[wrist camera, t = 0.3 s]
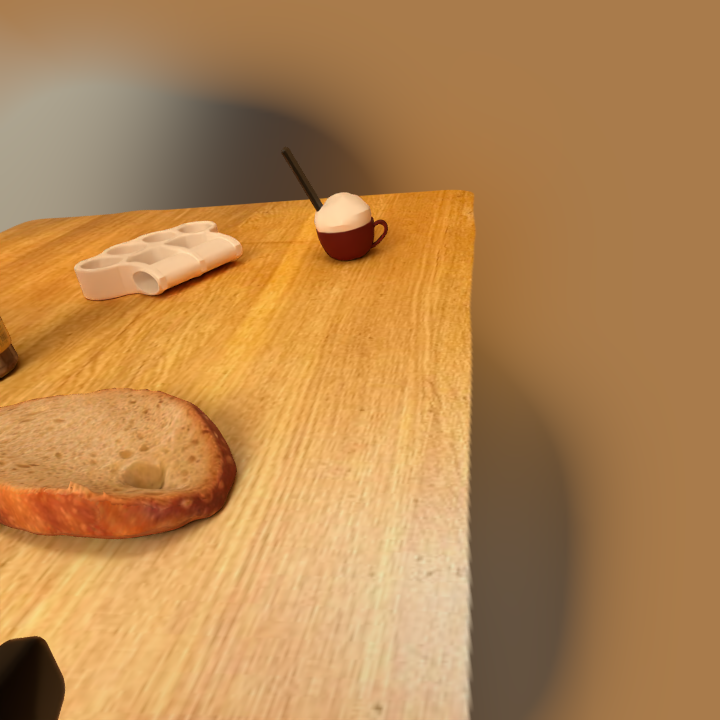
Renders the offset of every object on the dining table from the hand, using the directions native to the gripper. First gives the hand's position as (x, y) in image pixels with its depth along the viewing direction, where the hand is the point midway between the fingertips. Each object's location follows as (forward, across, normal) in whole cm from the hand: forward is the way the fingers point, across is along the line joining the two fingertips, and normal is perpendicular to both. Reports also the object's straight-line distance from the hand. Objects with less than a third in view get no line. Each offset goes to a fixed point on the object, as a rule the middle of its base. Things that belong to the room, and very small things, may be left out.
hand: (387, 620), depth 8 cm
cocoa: (+59, +3, +8) cm, 60 cm away
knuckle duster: (+61, +24, +8) cm, 66 cm away
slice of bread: (+24, +19, +12) cm, 33 cm away
